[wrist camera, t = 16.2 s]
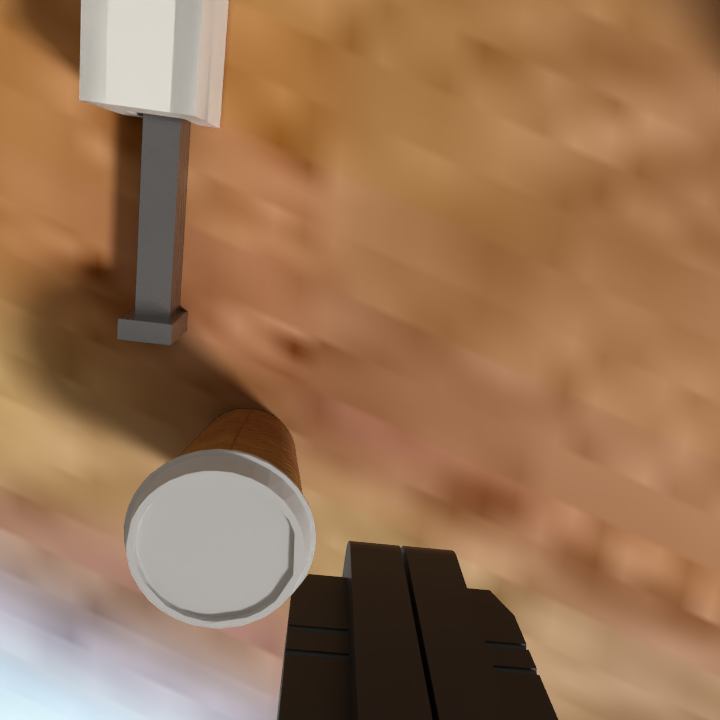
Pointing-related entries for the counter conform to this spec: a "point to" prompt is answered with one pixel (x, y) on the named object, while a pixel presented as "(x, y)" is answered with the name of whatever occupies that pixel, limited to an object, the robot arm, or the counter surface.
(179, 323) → the rail
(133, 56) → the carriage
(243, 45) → the counter surface
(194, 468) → the disposable coffee cup
